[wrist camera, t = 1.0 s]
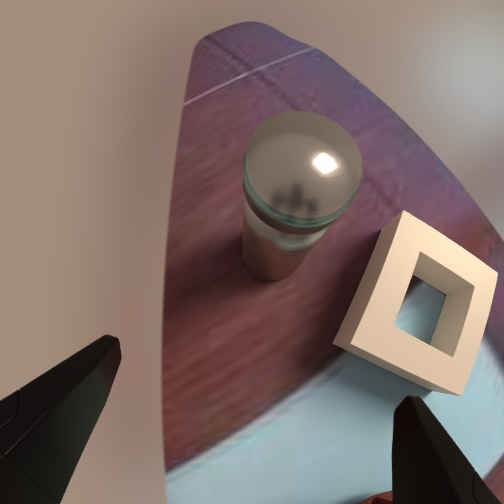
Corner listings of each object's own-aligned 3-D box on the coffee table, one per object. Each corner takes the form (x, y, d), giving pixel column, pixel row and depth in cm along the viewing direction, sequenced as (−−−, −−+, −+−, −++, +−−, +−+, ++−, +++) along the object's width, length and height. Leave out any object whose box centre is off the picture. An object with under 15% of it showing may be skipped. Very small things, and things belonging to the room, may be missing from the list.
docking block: (432, 390, 21) (461, 396, 18) (332, 343, 22) (350, 343, 19) (469, 283, 24) (497, 273, 20) (381, 228, 25) (403, 209, 21)
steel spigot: (285, 293, 23) (339, 236, 11) (229, 263, 24) (219, 176, 11) (312, 239, 24) (378, 142, 12) (259, 211, 25) (277, 93, 12)
